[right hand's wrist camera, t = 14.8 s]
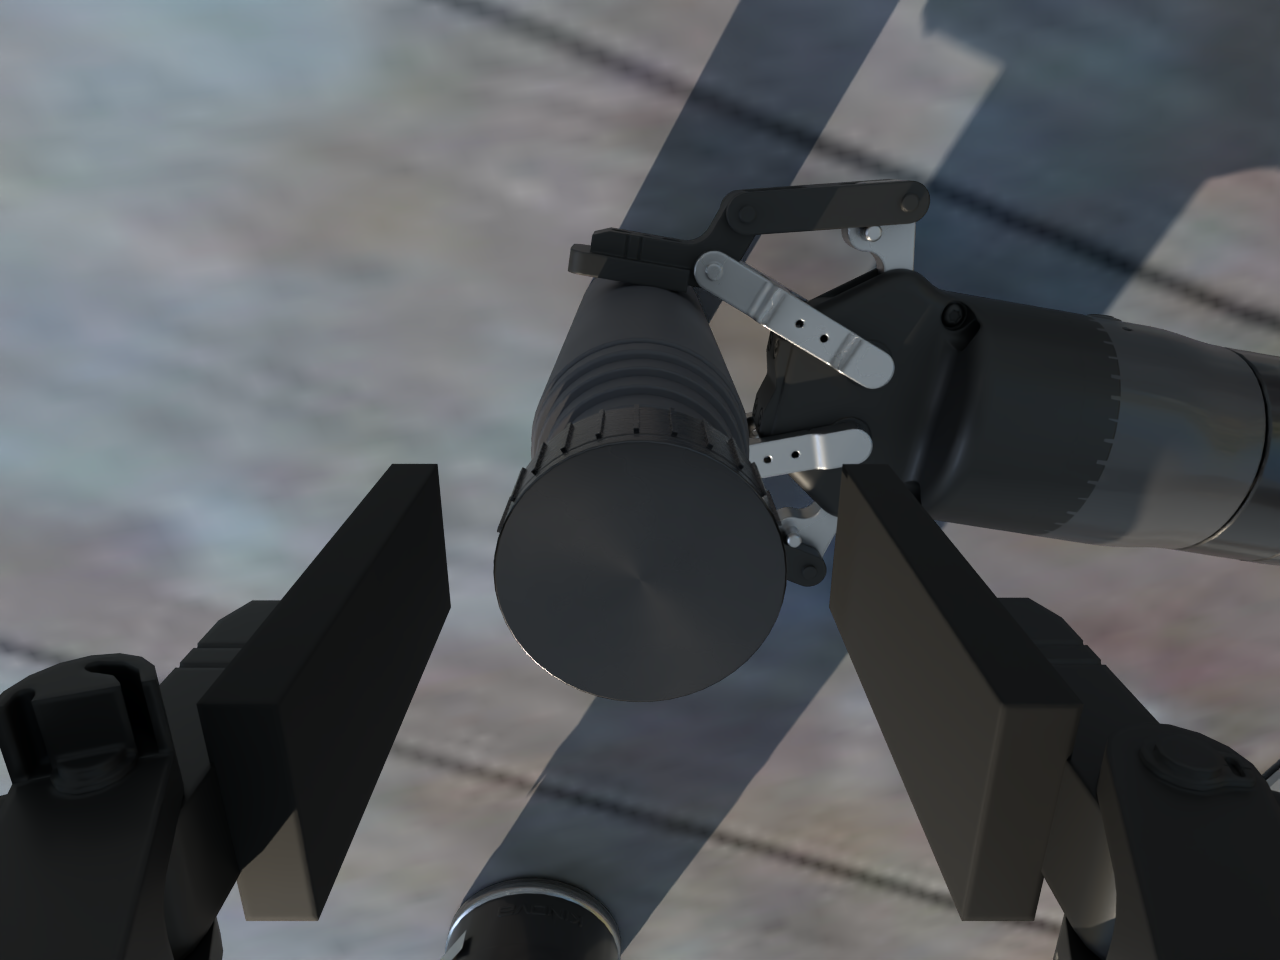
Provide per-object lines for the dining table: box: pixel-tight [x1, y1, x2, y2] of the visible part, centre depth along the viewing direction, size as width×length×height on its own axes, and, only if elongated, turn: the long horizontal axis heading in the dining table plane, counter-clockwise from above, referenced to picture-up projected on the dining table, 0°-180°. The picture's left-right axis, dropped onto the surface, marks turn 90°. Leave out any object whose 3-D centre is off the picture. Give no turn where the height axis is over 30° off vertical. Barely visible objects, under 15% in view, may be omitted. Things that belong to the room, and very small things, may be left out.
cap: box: [493, 404, 787, 702], centre depth 14 cm, size 5×5×2 cm
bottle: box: [531, 278, 750, 459], centre depth 23 cm, size 5×5×22 cm
